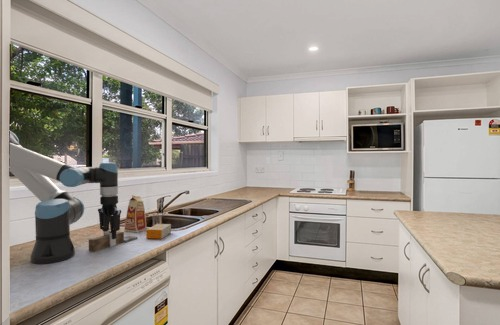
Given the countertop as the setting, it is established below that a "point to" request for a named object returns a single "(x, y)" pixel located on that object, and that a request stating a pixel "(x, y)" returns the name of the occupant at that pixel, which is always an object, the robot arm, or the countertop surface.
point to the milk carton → (135, 215)
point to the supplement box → (158, 231)
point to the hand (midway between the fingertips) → (110, 245)
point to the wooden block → (108, 241)
